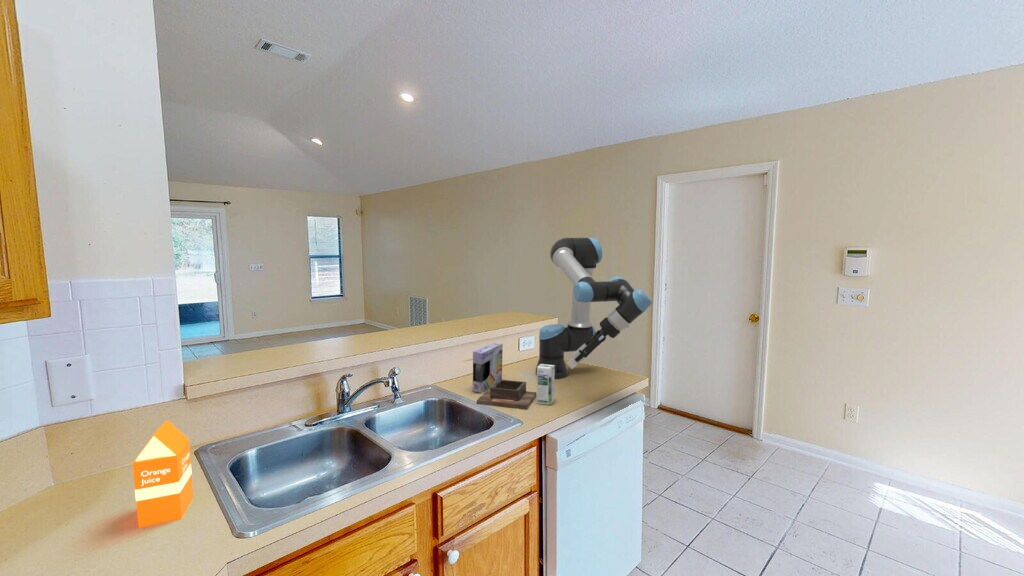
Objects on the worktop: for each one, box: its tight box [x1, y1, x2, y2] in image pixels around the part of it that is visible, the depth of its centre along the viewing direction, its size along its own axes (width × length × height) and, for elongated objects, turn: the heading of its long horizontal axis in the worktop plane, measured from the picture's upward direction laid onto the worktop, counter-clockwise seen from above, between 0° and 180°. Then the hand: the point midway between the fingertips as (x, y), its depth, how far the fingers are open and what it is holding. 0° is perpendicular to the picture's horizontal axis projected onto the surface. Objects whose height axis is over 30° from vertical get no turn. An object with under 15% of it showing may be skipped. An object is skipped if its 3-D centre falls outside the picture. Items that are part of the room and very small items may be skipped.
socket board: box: [476, 379, 537, 411], centre depth 163 cm, size 15×20×6 cm
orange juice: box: [132, 419, 194, 529], centre depth 93 cm, size 8×9×20 cm
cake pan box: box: [472, 341, 503, 394], centre depth 178 cm, size 19×5×18 cm, turn 152°
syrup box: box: [536, 364, 555, 406], centre depth 161 cm, size 6×6×14 cm
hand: (572, 361), depth 156 cm, fingers open, 13 cm apart
